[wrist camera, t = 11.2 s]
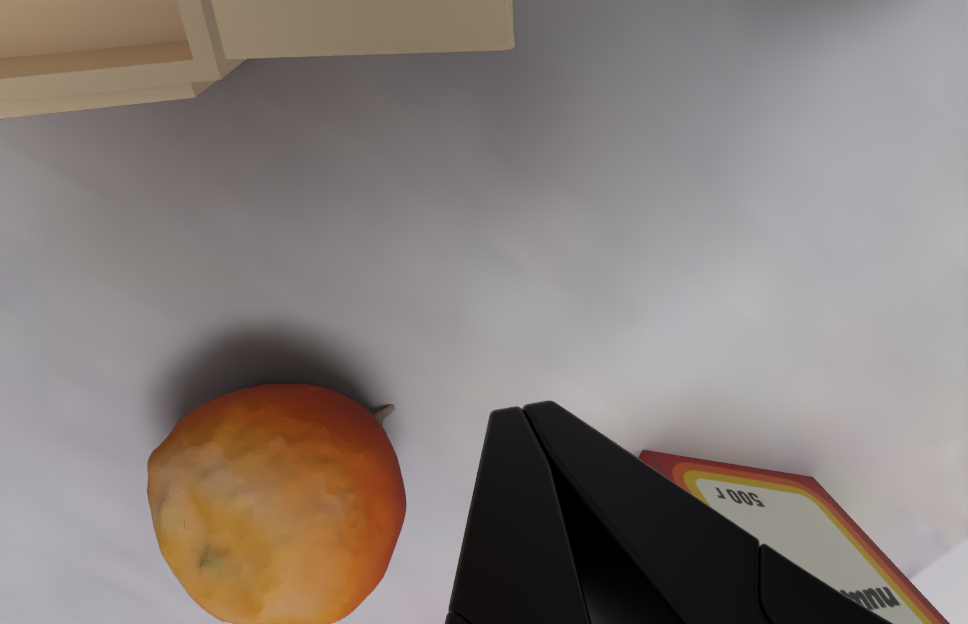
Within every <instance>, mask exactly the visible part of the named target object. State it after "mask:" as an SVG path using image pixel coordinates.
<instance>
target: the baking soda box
mask: <svg viewBox="0 0 968 624" xmlns="http://www.w3.org/2000/svg"><path fill="white" fill-rule="evenodd" d="M639 459H640V460H642V461H643V462H645V463H646V464H648V465H649V466H651V467H652V468H654V469H655V470H657V471H658V472H660V473H661V474H663V475H664V476H665V477H667V478H668V479H670V480H671V481H673V482H674V483H676V484H677V485H679V486H680V487H682V488H683V489H685V490H686V491H688V492H689V493H691V494H692V495H694V496H695V497H697V498H698V499H700V500H701V501H703V502H704V503H706V504H707V505H709V506H710V507H712V508H713V509H715V510H716V511H717V512H719V513H720V514H722V515H723V516H725V517H726V518H728V519H729V520H731V521H732V522H734V523H735V524H737V525H738V526H740V527H741V528H743V529H744V530H746V531H747V532H749V533H750V534H752V535H753V536H755V537H756V538H758V539H759V542H760V545H761V544H767V545H768V546H770V547H771V548H773V549H774V550H776V551H777V552H779V553H780V554H782V555H783V556H785V557H786V558H788V559H789V560H791V561H792V562H794V563H795V564H797V565H798V566H800V567H802V568H803V569H805V570H806V571H808V572H809V573H811V574H812V575H814V576H816V577H817V578H819V579H820V580H822V581H823V582H825V583H826V584H828V585H830V586H831V587H833V588H834V589H836V590H837V591H839V592H841V593H842V594H844V595H845V596H847V597H849V598H851V599H852V600H854V601H856V602H857V603H859V604H861V605H863V606H864V607H866V608H868V609H869V610H871V611H873V612H874V613H876V614H878V615H880V616H881V617H883V618H885V619H886V620H888V621H890V622H891V623H893V624H949V622H948V621H947V620H946V619H945V618H944V617H943V616H942V615H941V614H940V613H939V612H938V611H937V610H936V609H935V607H933V605H932V604H931V603H930V602H929V601H928V600H927V599H926V598H925V597H924V596H923V595H922V593H921V592H920V591H919V590H918V589H917V588H916V587H915V586H914V585H913V584H912V583H911V582H910V581H909V580H908V578H907V577H906V576H905V575H904V574H903V573H902V572H901V571H900V570H899V569H898V568H897V567H896V566H895V565H894V563H893V562H892V561H891V560H890V559H889V558H888V557H887V556H886V555H885V554H884V553H883V552H882V551H881V550H880V548H879V547H878V546H877V545H876V544H875V543H874V542H873V541H872V540H871V539H870V538H869V537H868V536H867V535H866V533H865V532H864V531H863V530H862V529H861V528H860V527H859V526H858V525H857V524H856V523H855V522H854V521H853V520H852V518H851V517H850V516H849V515H848V514H847V513H846V512H845V511H844V510H843V509H842V508H841V507H840V506H839V505H838V503H837V502H836V501H835V500H834V499H833V498H832V497H831V496H830V495H829V494H828V493H827V492H826V491H825V490H824V488H823V487H822V486H821V485H820V484H819V483H818V482H817V481H816V480H815V479H814V478H813V477H807V476H801V475H795V474H789V473H783V472H777V471H770V470H764V469H758V468H752V467H746V466H739V465H733V464H727V463H721V462H715V461H708V460H702V459H696V458H690V457H684V456H677V455H671V454H665V453H659V452H653V451H647V450H643V451H642V453H641V455H640V457H639Z"/></svg>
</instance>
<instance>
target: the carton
mask: <svg viewBox="0 0 968 624" xmlns="http://www.w3.org/2000/svg"><path fill="white" fill-rule="evenodd" d="M245 60H246V59H226V57H225V53H224V49H223V46H222V42H221V38H220V34H219V30H218V26H217V22H216V18H215V14H214V10H213V6H212V2H211V0H0V119H3V118H12V117H22V116H31V115H40V114H50V113H59V112H68V111H77V110H87V109H96V108H105V107H115V106H124V105H133V104H143V103H152V102H161V101H170V100H180V99H189V98H196V97H197V96H198V95H199V94H201V93H202V92H203V91H205V90H206V89H207V88H208V87H210V86H211V85H212V84H213V83H215V82H216V81H217V80H221V79H223V78H224V77H225V76H226V75H228V74H229V73H230V72H231V71H233V70H234V69H235V68H236V67H237V66H239V65H240V64H241V63H242V62H244V61H245Z"/></svg>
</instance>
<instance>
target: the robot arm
mask: <svg viewBox="0 0 968 624" xmlns="http://www.w3.org/2000/svg"><path fill="white" fill-rule="evenodd" d="M445 624H893V623H891V622H890V621H888V620H886V619H885V618H883V617H881V616H880V615H878V614H876V613H874V612H873V611H871V610H869V609H868V608H866V607H864V606H863V605H861V604H859V603H857V602H856V601H854V600H852V599H851V598H849V597H847V596H845V595H844V594H842V593H841V592H839V591H837V590H836V589H834V588H833V587H831V586H830V585H828V584H826V583H825V582H823V581H822V580H820V579H819V578H817V577H816V576H814V575H812V574H811V573H809V572H808V571H806V570H805V569H803V568H802V567H800V566H798V565H797V564H795V563H794V562H792V561H791V560H789V559H788V558H786V557H785V556H783V555H782V554H780V553H779V552H777V551H776V550H774V549H773V548H771V547H770V546H768V545H767V544H761V545H760V542H759V539H758V538H756V537H755V536H753V535H752V534H750V533H749V532H747V531H746V530H744V529H743V528H741V527H740V526H738V525H737V524H735V523H734V522H732V521H731V520H729V519H728V518H726V517H725V516H723V515H722V514H720V513H719V512H717V511H716V510H715V509H713V508H712V507H710V506H709V505H707V504H706V503H704V502H703V501H701V500H700V499H698V498H697V497H695V496H694V495H692V494H691V493H689V492H688V491H686V490H685V489H683V488H682V487H680V486H679V485H677V484H676V483H674V482H673V481H671V480H670V479H668V478H667V477H665V476H664V475H663V474H661V473H660V472H658V471H657V470H655V469H654V468H652V467H651V466H649V465H648V464H646V463H645V462H643V461H642V460H640V459H639V458H637V457H636V456H634V455H633V454H631V453H630V452H628V451H627V450H625V449H624V448H622V447H621V446H619V445H618V444H616V443H615V442H613V441H612V440H610V439H609V438H608V437H606V436H605V435H603V434H602V433H600V432H599V431H597V430H596V429H594V428H593V427H591V426H590V425H588V424H587V423H585V422H584V421H582V420H581V419H579V418H578V417H576V416H575V415H573V414H572V413H570V412H569V411H567V410H566V409H564V408H563V407H561V406H560V405H558V404H557V403H555V402H553V401H543V402H537V403H532V404H527V405H525V406H524V407H523V408H522V409H521V408H520V407H517V406H515V407H509V408H504V409H498V410H494V411H492V412H491V414H490V416H489V421H488V425H487V430H486V435H485V439H484V444H483V449H482V454H481V458H480V463H479V468H478V472H477V477H476V482H475V486H474V491H473V496H472V500H471V505H470V510H469V515H468V519H467V524H466V529H465V533H464V538H463V543H462V547H461V552H460V557H459V562H458V566H457V571H456V576H455V580H454V585H453V590H452V594H451V599H450V604H449V613H448V614H447V616H446V621H445Z"/></svg>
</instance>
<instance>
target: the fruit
mask: <svg viewBox="0 0 968 624" xmlns="http://www.w3.org/2000/svg"><path fill="white" fill-rule="evenodd" d="M393 405H394V404H390V405H389V406H387V407H386V408H384V409H382V410H381V411H378V412H377V413H375V414H372V413H371V412H370V411H369V410H368V409H367V408H366V407H365V406H364V405H363V404H362V403H360V402H358V401H355V400H353V399H351V398H349V397H347V396H345V395H342V394H340V393H338V392H336V391H334V390H331V389H328V388H325V387H322V386H318V385H313V384H296V383H284V384H257V385H253V386H250V387H247V388H244V389H240V390H237V391H234V392H231V393H228V394H225V395H223V396H220V397H218V398H216V399H214V400H211V401H209V402H207V403H205V404H203V405H201V406H200V407H198V408H196V409H194V410H192V411H191V412H190V413H188V414H187V415H186V416H185V417H184V418H183V419H182V420H180V421H179V422H178V423H177V425H176V426H175V427H174V429H173V430H172V432H171V433H170V434H169V436H168V437H167V438H166V439H165V440H164V441H163V442H162V444H161V445H160V446H159V447H158V448H156V449H155V450H154V451H153V452H152V454H151V455H150V458H149V460H148V487H147V494H148V500H149V504H150V509H151V514H152V521H153V526H154V530H155V533H156V537H157V541H158V544H159V548H160V550H161V553H162V555H163V558H164V559H165V561H166V562H167V564H168V565H169V567H170V569H171V570H172V572H173V573H174V575H175V576H176V578H177V579H178V581H179V582H180V584H181V585H182V586H183V587H184V589H185V590H186V591H187V593H188V594H189V596H190V597H191V598H192V599H193V600H194V601H195V602H196V603H197V604H198V605H199V606H200V607H201V608H203V609H204V610H205V611H206V612H208V613H209V614H211V615H212V616H214V617H215V618H217V619H219V620H221V621H223V622H230V623H233V624H331V623H334V622H337V621H339V620H341V619H343V618H344V617H346V616H347V615H349V614H350V613H351V612H353V611H354V610H355V609H356V608H357V607H358V606H359V605H360V604H361V603H362V602H363V601H364V600H365V598H366V597H367V596H368V595H369V594H370V593H371V592H372V591H373V590H374V589H375V588H376V586H377V585H378V584H379V582H380V581H381V580H382V578H383V576H384V574H385V572H386V570H387V568H388V565H389V562H390V559H391V557H392V554H393V551H394V548H395V546H396V543H397V540H398V537H399V535H400V532H401V528H402V525H403V522H404V518H405V513H406V495H405V489H404V484H403V479H402V475H401V470H400V466H399V463H398V459H397V456H396V453H395V451H394V449H393V446H392V444H391V442H390V440H389V438H388V437H387V434H386V432H385V430H384V428H383V427H382V422H383V419H384V418H385V417H386V416H387V415H388V414H390V413H391V412H392V411H393V410H394V409H395V408H393Z"/></svg>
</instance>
